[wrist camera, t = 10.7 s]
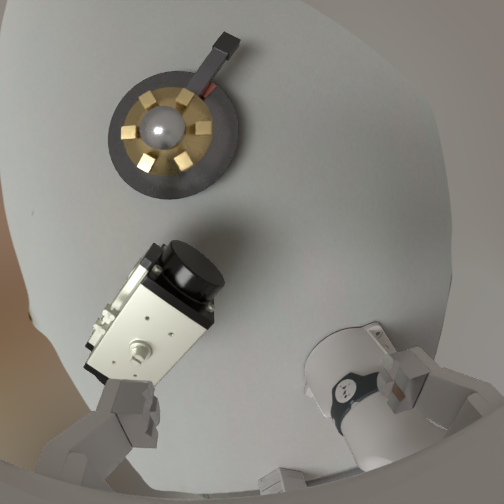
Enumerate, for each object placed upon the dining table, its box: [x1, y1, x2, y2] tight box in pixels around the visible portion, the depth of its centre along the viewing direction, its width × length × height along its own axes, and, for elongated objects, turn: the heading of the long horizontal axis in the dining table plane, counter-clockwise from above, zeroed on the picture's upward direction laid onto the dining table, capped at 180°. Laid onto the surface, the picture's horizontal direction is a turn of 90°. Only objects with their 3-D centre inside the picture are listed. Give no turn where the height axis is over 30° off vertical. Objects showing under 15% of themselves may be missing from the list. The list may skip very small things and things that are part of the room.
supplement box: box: [258, 468, 307, 495], centre depth 54 cm, size 9×9×15 cm
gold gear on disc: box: [108, 71, 239, 199], centre depth 30 cm, size 16×16×10 cm
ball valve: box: [84, 240, 225, 387], centre depth 32 cm, size 18×8×18 cm, turn 139°
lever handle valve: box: [121, 32, 240, 176], centre depth 28 cm, size 18×10×4 cm, turn 149°
